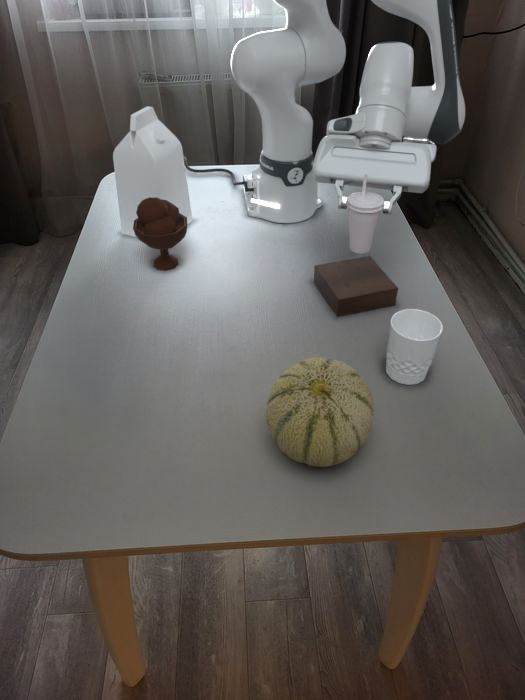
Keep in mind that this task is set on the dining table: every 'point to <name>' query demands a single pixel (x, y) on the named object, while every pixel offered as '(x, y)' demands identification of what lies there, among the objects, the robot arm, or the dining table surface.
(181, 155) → the milk
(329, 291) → the block
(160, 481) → the dining table surface
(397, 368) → the white cup
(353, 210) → the smoothie
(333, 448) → the cantaloupe
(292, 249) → the dining table surface
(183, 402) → the dining table surface
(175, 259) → the ice cream bowl
